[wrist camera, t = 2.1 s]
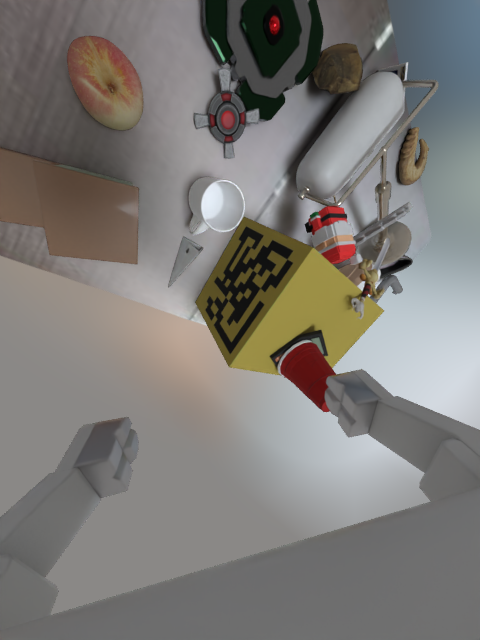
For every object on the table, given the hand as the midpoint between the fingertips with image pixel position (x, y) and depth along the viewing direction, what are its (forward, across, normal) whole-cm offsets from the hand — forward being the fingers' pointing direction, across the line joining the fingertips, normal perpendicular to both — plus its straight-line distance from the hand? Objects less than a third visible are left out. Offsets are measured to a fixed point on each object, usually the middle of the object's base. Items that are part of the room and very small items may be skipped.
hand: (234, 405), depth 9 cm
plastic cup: (+18, -19, +24) cm, 36 cm away
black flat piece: (+46, -15, -34) cm, 59 cm away
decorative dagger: (+46, -49, +2) cm, 67 cm away
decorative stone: (+50, -30, -32) cm, 67 cm away
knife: (+57, -32, +11) cm, 66 cm away
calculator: (+31, -17, +21) cm, 41 cm away
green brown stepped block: (+41, +23, -12) cm, 49 cm away
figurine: (+40, -26, -6) cm, 48 cm away
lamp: (+57, -42, -9) cm, 72 cm away
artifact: (+62, -70, -14) cm, 94 cm away
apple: (+42, +11, -26) cm, 50 cm away
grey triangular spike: (+50, +9, +9) cm, 51 cm away
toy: (+44, -8, -23) cm, 51 cm away
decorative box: (+56, -16, +13) cm, 60 cm away
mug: (+48, -1, -10) cm, 49 cm away
